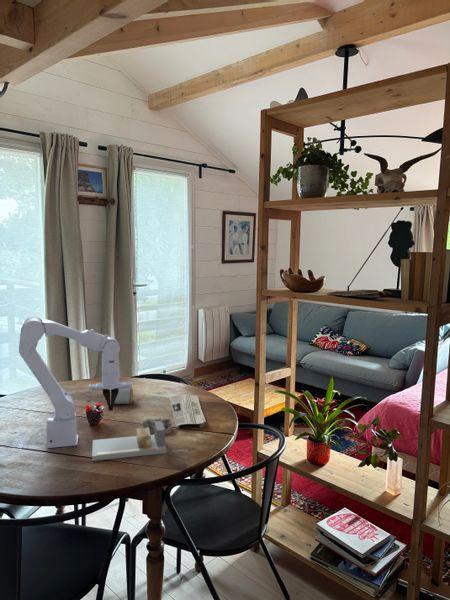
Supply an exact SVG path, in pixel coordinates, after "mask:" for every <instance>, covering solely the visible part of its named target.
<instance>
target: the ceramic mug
mask: <svg viewBox="0 0 450 600" xmlns="http://www.w3.org/2000/svg"><path fill="white" fill-rule="evenodd" d="M118 390H119V393H118V395H117V397H116V399H115V402H114V405H123V404H124V405H125V404H126V405H128V404H132V402H133V397H134V389H133V387H132V389H118Z"/></svg>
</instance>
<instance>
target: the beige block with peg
mask: <svg viewBox="0 0 450 600" xmlns="http://www.w3.org/2000/svg"><path fill="white" fill-rule="evenodd" d="M151 435H152V434H151V433H150V431H149V428H143V427H141V428H140V427H138V428H136V436H137V443H138V447H144V448H146V447H148V446H151Z"/></svg>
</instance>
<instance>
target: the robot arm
mask: <svg viewBox="0 0 450 600" xmlns="http://www.w3.org/2000/svg"><path fill="white" fill-rule="evenodd" d="M44 335H45V337H46V338H47V337H51V336H53V335H57V336H61V337H63V338H67V339H71V340H75V341H78V343H79V345H80V346H81V347H83V348H86V349H90V350H93V351H96V352H102V354H101V355H102V356H101V382H98V383H93V384H88V392H91V393H92V392H99V391H102V395H103V397H104V399H105V402H106V404H107V407H108V411H109V412H111V411H112V412H113V411H114V405H115V404H114V402H115V399H116V397H117V395H118V393H119V390H118V389H132V388H133V383H132V381H129V382H128V381H120V365H119V363H120V360H119V359H120V358H119V355H120V354H119V353H120V352H121V347H120V342H118V340H117V339H116V338H114V337H112V335H108V334H102V333H99V332H96V331H95V329H93V328H90V330H89V329H85V330H82V331H81V330H78V329H75V328H72V327H70V326H67V325H64V324H61V323H59V322H56V321H54V320H50V319H47V318H40V317H38V316H29V317H28V318H26V320H24V322H23V324H22V326H21V328H20V333H19V343H18V353H19V356H20V357H21V358H22V359H23V361H24V363H25V364H26V366H27V367H28V368H29V370H30V371H31V373H32V374H33V376H34V377H35V378H36V380H37V381H38V383H39V385H40V386H41V388H42V389H43V390H44V392H45V393H46V395H47V396H48V397H49V400H50V402H51V404H52V406H53V408H54V411H55V412H54V414H53V416H51V417H48V418H47V420H46V449H53V448H65V447H72V446H73V447H75V446H78V442H79V434H77V413H76V411H77V410H76V409H77V408H76V406H75V401H74V398H73V396H72V395H70V394H69V393H67V391H65V389H64V388H63V387H62V386H61V384H60V383H59V382H58V381H57V379H56V378H55V376H54V374H53V373H52V371H51V370H50V368H49V367H48V366H47V365H48V364H46V363H45V361H44V360H43V358H42V356H41V355H40V354H39V352H38V350H37V347H38V345H39V344H38V343H39V341H40V340H41V339H42V337H43V336H44Z"/></svg>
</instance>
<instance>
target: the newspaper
mask: <svg viewBox="0 0 450 600" xmlns="http://www.w3.org/2000/svg"><path fill="white" fill-rule="evenodd" d="M169 404H170V407H171V411H172V416H173V421H174V424H175V428H176V430H177V429H180V426H183V425H198V427H199V428H203V427H204V426H205V425H204V424H205V422H206V418H205V415H204V412H203V410H202V407H201V403H200V400H199V396H198V395H193V394H187V393H186V394H185V393H184V394H174V395H170V396H169Z"/></svg>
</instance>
